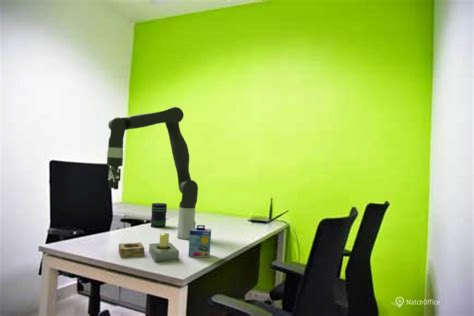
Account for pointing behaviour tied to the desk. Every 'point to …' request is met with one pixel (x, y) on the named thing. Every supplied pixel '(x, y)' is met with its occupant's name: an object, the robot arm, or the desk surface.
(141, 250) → the socket block
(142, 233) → the desk surface
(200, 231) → the ink cartridge box
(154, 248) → the block with square hole
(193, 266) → the desk surface
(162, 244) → the axle
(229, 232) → the desk surface
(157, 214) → the storage jar
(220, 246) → the desk surface
